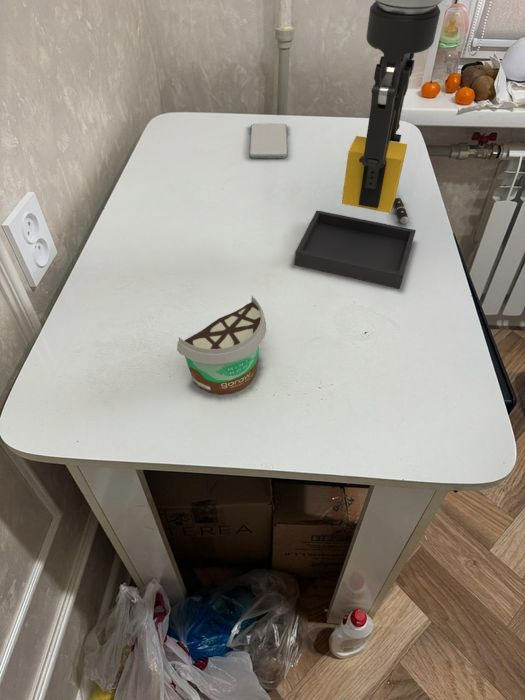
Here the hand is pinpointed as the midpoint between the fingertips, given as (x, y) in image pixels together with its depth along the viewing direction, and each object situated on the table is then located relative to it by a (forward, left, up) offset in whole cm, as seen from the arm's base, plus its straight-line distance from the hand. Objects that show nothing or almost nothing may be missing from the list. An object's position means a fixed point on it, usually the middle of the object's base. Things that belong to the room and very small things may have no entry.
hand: (372, 195), depth 72 cm
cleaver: (0, -23, -14) cm, 27 cm away
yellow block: (0, 0, -1) cm, 1 cm away
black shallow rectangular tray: (+2, -5, -14) cm, 15 cm away
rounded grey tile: (+29, -37, -14) cm, 49 cm away
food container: (+11, +27, -14) cm, 33 cm away
